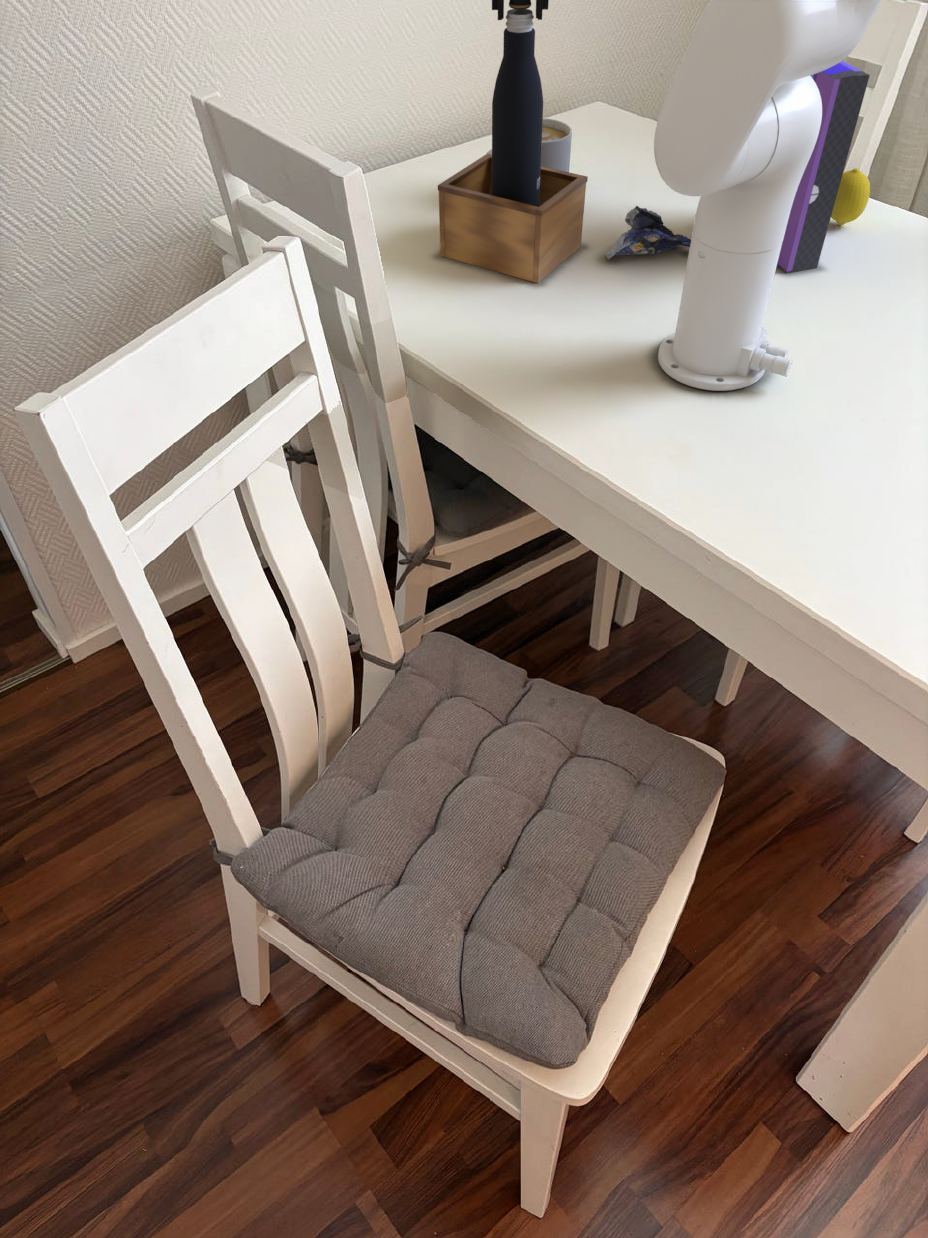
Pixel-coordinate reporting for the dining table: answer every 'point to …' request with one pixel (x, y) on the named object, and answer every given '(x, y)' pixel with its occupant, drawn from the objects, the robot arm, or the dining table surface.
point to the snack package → (646, 235)
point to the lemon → (851, 197)
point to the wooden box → (511, 222)
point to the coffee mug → (555, 145)
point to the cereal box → (823, 167)
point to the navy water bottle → (517, 112)
